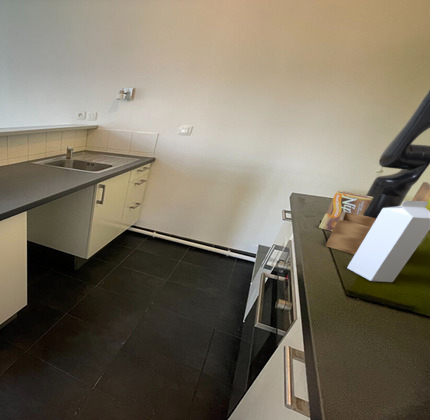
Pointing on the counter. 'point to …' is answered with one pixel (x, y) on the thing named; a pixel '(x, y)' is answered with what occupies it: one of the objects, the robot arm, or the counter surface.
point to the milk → (391, 241)
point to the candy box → (344, 207)
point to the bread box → (349, 232)
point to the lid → (423, 193)
